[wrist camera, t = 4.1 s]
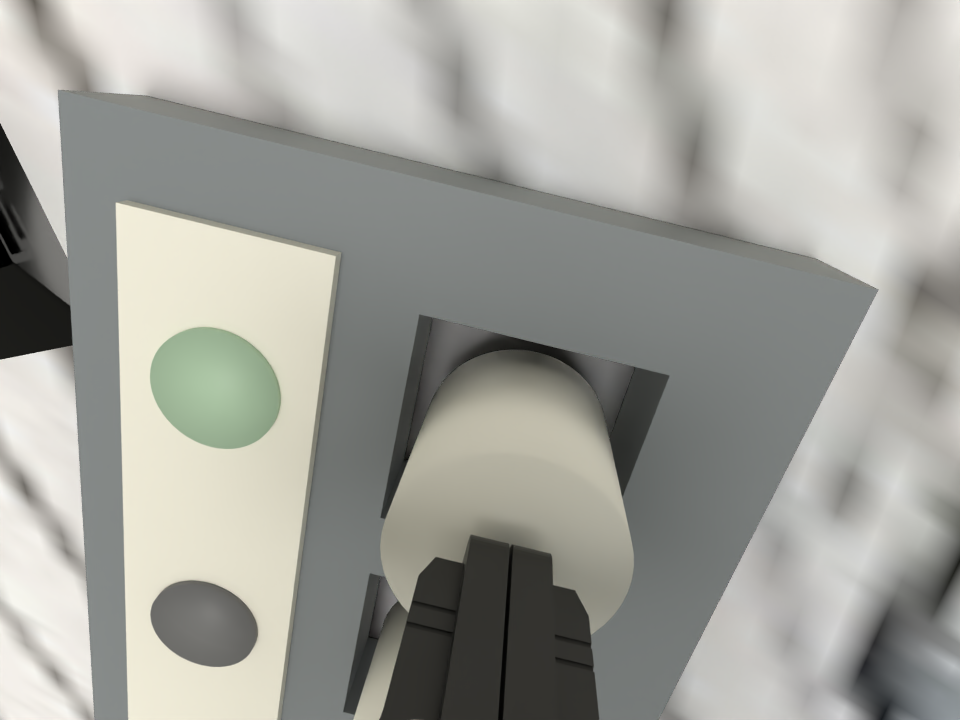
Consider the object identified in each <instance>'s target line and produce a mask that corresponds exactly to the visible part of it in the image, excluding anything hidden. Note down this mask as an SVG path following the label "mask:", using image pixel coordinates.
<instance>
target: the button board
mask: <svg viewBox="0 0 960 720" xmlns="http://www.w3.org/2000/svg"><path fill="white" fill-rule="evenodd" d="M58 100H59V117H60V134H61V151H62V168H63V186H64V203H65V220H66V237H67V254H68V272H69V289H70V306H71V323H72V340H73V358H74V375H75V392H76V409H77V426H78V444H79V461H80V478H81V495H82V512H83V530H84V547H85V564H86V581H87V598H88V616H89V633H90V650H91V667H92V684H93V702H94V719H95V720H128V692H127V650H126V609H125V568H124V526H123V485H122V443H121V402H120V361H119V319H118V278H117V237H116V202H121V201H126V200H129V201H133V202H137V203H141V204H145V205H149V206H153V207H157V208H161V209H165V210H170V211H174V212H178V213H182V214H186V215H190V216H194V217H198V218H202V219H206V220H211V221H215V222H219V223H223V224H227V225H231V226H235V227H239V228H243V229H247V230H251V231H256V232H260V233H264V234H268V235H272V236H276V237H280V238H284V239H288V240H292V241H297V242H301V243H305V244H309V245H313V246H317V247H321V248H325V249H329V250H333V251H337V252H341V260H340V267H339V275H338V283H337V290H336V298H335V306H334V313H333V321H332V329H331V337H330V344H329V352H328V360H327V367H326V375H325V383H324V390H323V398H322V406H321V413H320V421H319V429H318V437H317V444H316V452H315V460H314V467H313V475H312V483H311V490H310V498H309V506H308V514H307V521H306V529H305V537H304V544H303V552H302V560H301V567H300V575H299V583H298V590H297V598H296V606H295V614H294V621H293V629H292V637H291V644H290V652H289V660H288V667H287V675H286V683H285V691H284V698H283V706H282V714H281V720H353V719H354V716H355V713H356V710H357V706H358V703H359V700H360V697H361V694H362V690H363V687H364V684H365V681H366V678H367V674H368V671H369V668H370V665H371V662H372V658H373V655H374V652H375V649H376V646H377V643H378V640H377V639H373V638H369V637H368V636H369V631H370V626H371V621H372V616H373V611H374V606H375V601H376V596H377V591H378V586H379V581H380V576H383V577H386V576H385V574H384V571H383V566H382V561H381V551H380V543H381V534H382V529H383V526H384V522H385V519H386V516H387V514H388V511H389V509H390V506H391V503H392V501H393V498H394V496H395V493H396V491H397V488H398V486H399V483H400V480H401V478H402V475H403V473H404V470H405V468H406V465H407V463H408V460H404V457H405V452H406V447H407V442H408V437H409V432H410V427H411V422H412V417H413V412H414V407H415V402H416V397H417V392H418V387H419V383H420V378H421V373H422V368H423V363H424V358H425V353H426V348H427V343H428V338H429V333H430V328H431V323H432V318H436V319H441V320H445V321H449V322H453V323H457V324H461V325H465V326H469V327H473V328H477V329H481V330H486V331H490V332H494V333H498V334H502V335H506V336H510V337H514V338H518V339H522V340H526V341H531V342H535V343H539V344H543V345H547V346H551V347H555V348H559V349H563V350H567V351H571V352H576V353H580V354H584V355H588V356H592V357H596V358H600V359H604V360H608V361H612V362H616V363H621V364H625V365H629V366H633V367H635V370H634V373H633V375H632V378H631V381H630V384H629V387H628V389H627V392H626V395H625V398H624V400H623V403H622V406H621V409H620V412H619V414H618V417H617V420H616V423H615V425H614V428H613V431H612V434H611V437H610V444H611V449H612V453H613V458H614V462H615V467H616V472H617V476H618V481H619V485H620V490H621V495H622V499H623V504H624V508H625V513H626V518H627V522H628V527H629V531H630V536H631V541H632V546H633V552H634V569H633V576H632V581H631V584H630V587H629V590H628V593H627V595H626V597H625V599H624V601H623V603H622V604H621V606H620V607H619V609H618V610H617V611H616V613H615V614H614V615H613V616H612V617H611V618H610V619H609V620H608V621H607V622H606V623H605V625H603V626H602V627H601V628H600V629H598V630H597V631H596V632H594V633H593V634H592V635H591V642H592V644H591V649H592V652H593V662H594V668H593V672H595V681H596V691H597V701H598V711H599V720H659V718H660V716H661V714H662V712H663V710H664V708H665V706H666V704H667V702H668V700H669V698H670V696H671V694H672V692H673V690H674V688H675V686H676V684H677V683H678V681H679V679H680V677H681V675H682V673H683V671H684V669H685V667H686V665H687V663H688V661H689V659H690V657H691V655H692V653H693V651H694V649H695V647H696V645H697V643H698V641H699V640H700V638H701V636H702V634H703V632H704V630H705V628H706V626H707V624H708V622H709V620H710V618H711V616H712V614H713V612H714V610H715V608H716V606H717V604H718V602H719V600H720V598H721V597H722V595H723V593H724V591H725V589H726V587H727V585H728V583H729V581H730V579H731V577H732V575H733V573H734V571H735V569H736V567H737V565H738V563H739V561H740V559H741V557H742V555H743V554H744V552H745V550H746V548H747V546H748V544H749V542H750V540H751V538H752V536H753V534H754V532H755V530H756V528H757V526H758V524H759V522H760V520H761V518H762V516H763V514H764V512H765V511H766V509H767V507H768V505H769V503H770V501H771V499H772V497H773V495H774V493H775V491H776V489H777V487H778V485H779V483H780V481H781V479H782V477H783V475H784V473H785V471H786V469H787V468H788V466H789V464H790V462H791V460H792V458H793V456H794V454H795V452H796V450H797V448H798V446H799V444H800V442H801V440H802V438H803V436H804V434H805V432H806V430H807V428H808V426H809V425H810V423H811V421H812V419H813V417H814V415H815V413H816V411H817V409H818V407H819V405H820V403H821V401H822V399H823V397H824V395H825V393H826V391H827V389H828V387H829V385H830V383H831V382H832V380H833V378H834V376H835V374H836V372H837V370H838V368H839V366H840V364H841V362H842V360H843V358H844V356H845V354H846V352H847V350H848V348H849V346H850V344H851V342H852V340H853V339H854V337H855V335H856V333H857V331H858V329H859V327H860V325H861V323H862V321H863V319H864V317H865V315H866V313H867V311H868V309H869V307H870V305H871V303H872V301H873V299H874V297H875V295H876V294H877V292H878V289H876V288H874V287H872V286H870V285H868V284H866V283H864V282H862V281H860V280H858V279H856V278H854V277H852V276H850V275H848V274H846V273H844V272H842V271H840V270H838V269H836V268H834V267H832V266H830V265H828V264H826V263H824V262H822V261H820V260H818V259H814V258H810V257H806V256H802V255H798V254H794V253H790V252H786V251H782V250H777V249H773V248H769V247H765V246H761V245H757V244H753V243H749V242H745V241H740V240H736V239H732V238H728V237H724V236H720V235H716V234H712V233H708V232H703V231H699V230H695V229H691V228H687V227H683V226H679V225H675V224H671V223H666V222H662V221H658V220H654V219H650V218H646V217H642V216H638V215H634V214H630V213H625V212H621V211H617V210H613V209H609V208H605V207H601V206H597V205H593V204H588V203H584V202H580V201H576V200H572V199H568V198H564V197H560V196H556V195H551V194H547V193H543V192H539V191H535V190H531V189H527V188H523V187H519V186H515V185H510V184H506V183H502V182H498V181H494V180H490V179H486V178H482V177H478V176H473V175H469V174H465V173H461V172H457V171H453V170H449V169H445V168H441V167H436V166H432V165H428V164H424V163H420V162H416V161H412V160H408V159H404V158H399V157H395V156H391V155H387V154H383V153H379V152H375V151H371V150H367V149H363V148H358V147H354V146H350V145H346V144H342V143H338V142H334V141H330V140H326V139H321V138H317V137H313V136H309V135H305V134H301V133H297V132H293V131H289V130H284V129H280V128H276V127H272V126H268V125H264V124H260V123H256V122H252V121H248V120H243V119H239V118H235V117H231V116H227V115H223V114H219V113H215V112H211V111H206V110H202V109H198V108H194V107H190V106H186V105H182V104H178V103H174V102H169V101H165V100H161V99H157V98H153V97H149V96H143V95H128V94H113V93H98V92H83V91H68V90H58Z"/></svg>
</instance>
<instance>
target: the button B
mask: <svg viewBox="0 0 960 720" xmlns="http://www.w3.org/2000/svg"><path fill="white" fill-rule="evenodd" d="M407 617H408V612H407V611H406V610H405V608H404V607H403V606H402V605H401V603H400V602H399V601H398V602H397V603H396V604H395V605H394V606H393V607H392V608H391V609H390V611H389V612H388V614H387V616H386V618H385V620H384V623H383V627H382V630H381V633H380V636H379V639H378V643H377V646H376V649H375V652H374V655H373V658H372V662H371V665H370V668H369V671H368V674H367V678H366V681H365V684H364V687H363V690H362V694H361V697H360V700H359V703H358V706H357V710H356V713H355V716H354V719H353V720H379V719H380V717H381V714H382V711H383V708H384V704H385V701H386V697H387V693H388V689H389V685H390V682H391V678H392V674H393V670H394V666H395V663H396V659H397V655H398V651H399V648H400V644H401V640H402V636H403V632H404V629H405V625H406V621H407Z"/></svg>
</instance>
